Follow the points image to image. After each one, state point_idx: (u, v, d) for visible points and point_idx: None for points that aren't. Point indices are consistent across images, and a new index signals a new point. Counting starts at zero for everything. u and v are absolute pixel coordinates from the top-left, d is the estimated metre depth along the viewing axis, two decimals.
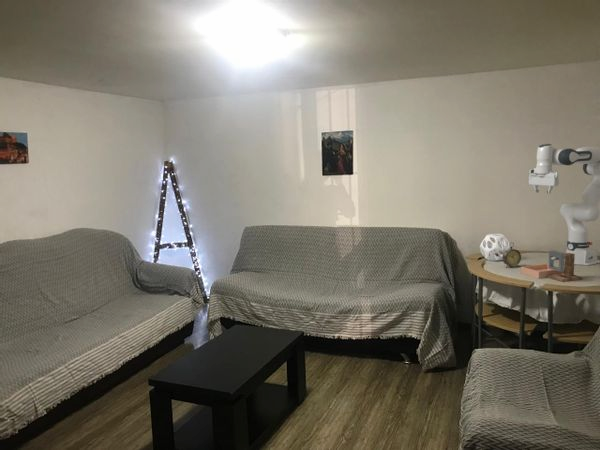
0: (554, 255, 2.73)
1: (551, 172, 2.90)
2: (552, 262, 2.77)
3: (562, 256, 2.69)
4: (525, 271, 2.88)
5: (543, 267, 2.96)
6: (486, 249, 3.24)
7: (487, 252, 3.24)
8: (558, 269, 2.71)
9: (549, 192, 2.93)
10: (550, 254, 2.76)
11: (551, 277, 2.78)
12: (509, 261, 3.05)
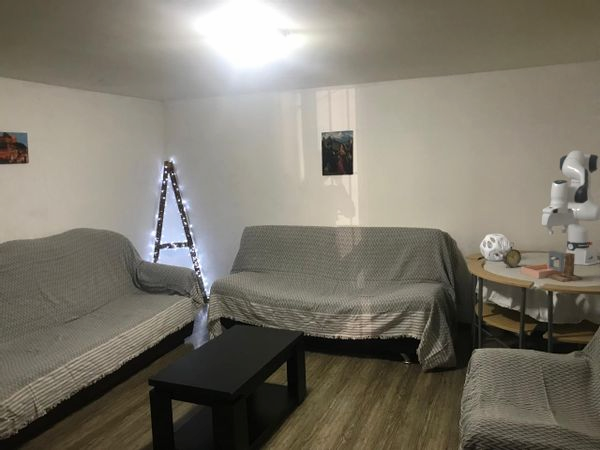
0: (554, 255, 2.73)
1: (567, 210, 2.71)
2: (552, 262, 2.77)
3: (562, 256, 2.69)
4: (525, 271, 2.88)
5: (543, 267, 2.96)
6: (486, 249, 3.24)
7: (487, 252, 3.24)
8: (558, 269, 2.71)
9: (565, 231, 2.73)
10: (550, 254, 2.76)
11: (551, 277, 2.78)
12: (509, 261, 3.05)
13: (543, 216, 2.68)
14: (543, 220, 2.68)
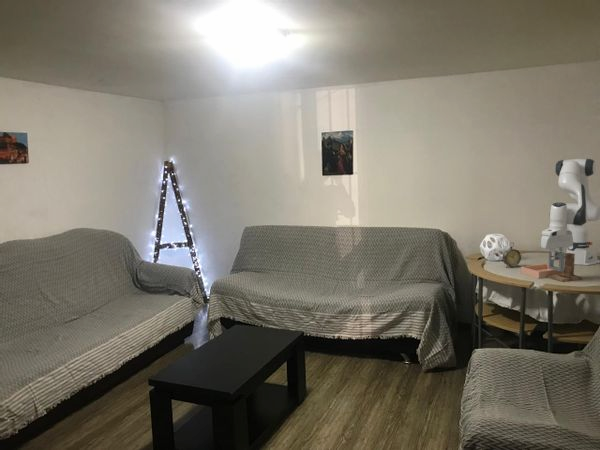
0: None
1: (566, 232, 2.73)
2: (552, 262, 2.77)
3: (562, 256, 2.69)
4: (525, 271, 2.88)
5: (543, 267, 2.96)
6: (486, 249, 3.24)
7: (487, 252, 3.24)
8: (558, 269, 2.71)
9: None
10: (550, 254, 2.76)
11: (551, 277, 2.78)
12: (509, 261, 3.05)
13: (542, 238, 2.70)
14: (542, 242, 2.70)
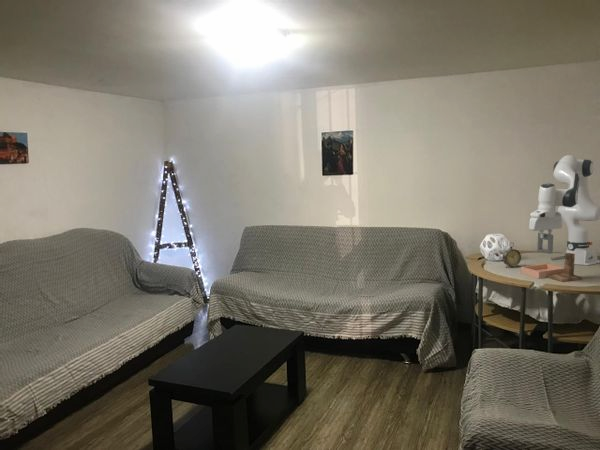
0: None
1: (555, 214, 2.69)
2: (541, 245, 2.73)
3: (550, 238, 2.65)
4: (525, 271, 2.88)
5: (543, 267, 2.96)
6: (486, 249, 3.24)
7: (487, 252, 3.24)
8: (547, 251, 2.67)
9: None
10: (539, 236, 2.72)
11: (551, 277, 2.78)
12: (509, 261, 3.05)
13: (530, 220, 2.66)
14: (530, 224, 2.65)
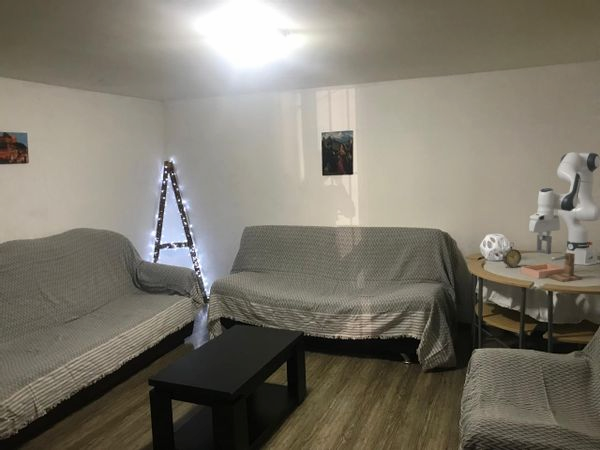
0: (542, 239, 2.85)
1: (554, 217, 2.85)
2: (540, 245, 2.89)
3: (549, 239, 2.81)
4: (525, 271, 2.88)
5: (543, 267, 2.96)
6: (486, 249, 3.24)
7: (487, 252, 3.24)
8: (545, 252, 2.83)
9: None
10: (538, 238, 2.88)
11: (551, 277, 2.78)
12: (509, 261, 3.05)
13: (530, 222, 2.82)
14: (530, 226, 2.82)
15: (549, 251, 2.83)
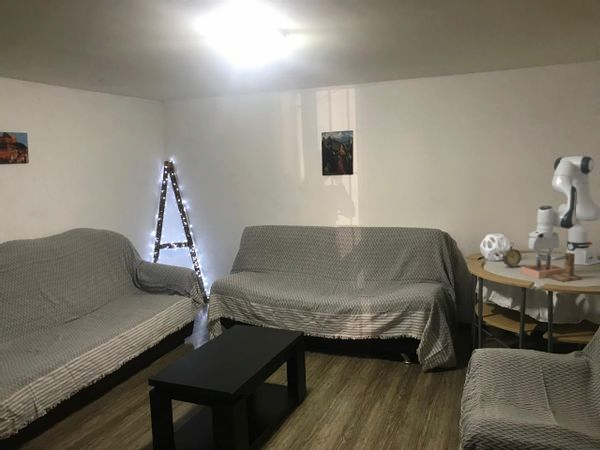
0: (541, 258, 2.87)
1: (553, 234, 2.87)
2: (539, 265, 2.91)
3: (548, 259, 2.83)
4: (525, 271, 2.88)
5: (543, 267, 2.96)
6: (486, 249, 3.24)
7: (487, 252, 3.24)
8: None
9: (550, 254, 2.88)
10: (537, 257, 2.90)
11: (551, 277, 2.78)
12: (509, 261, 3.05)
13: (530, 240, 2.84)
14: (530, 244, 2.83)
15: None
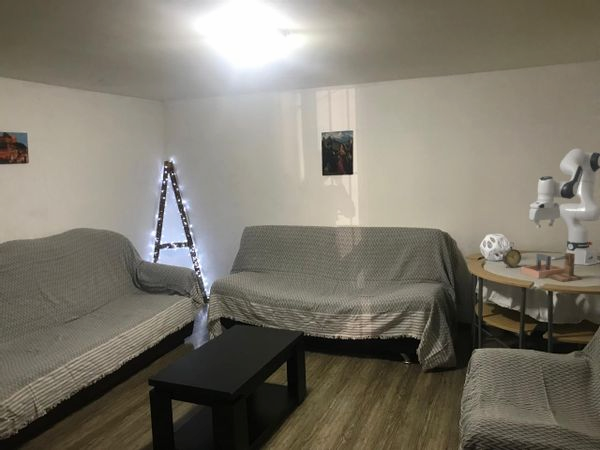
0: (541, 258, 2.87)
1: (554, 204, 2.86)
2: (539, 265, 2.91)
3: (548, 259, 2.83)
4: (525, 271, 2.88)
5: (543, 267, 2.96)
6: (486, 249, 3.24)
7: (487, 252, 3.24)
8: None
9: None
10: (537, 257, 2.90)
11: (551, 277, 2.78)
12: (509, 261, 3.05)
13: (530, 211, 2.83)
14: (530, 215, 2.82)
15: None
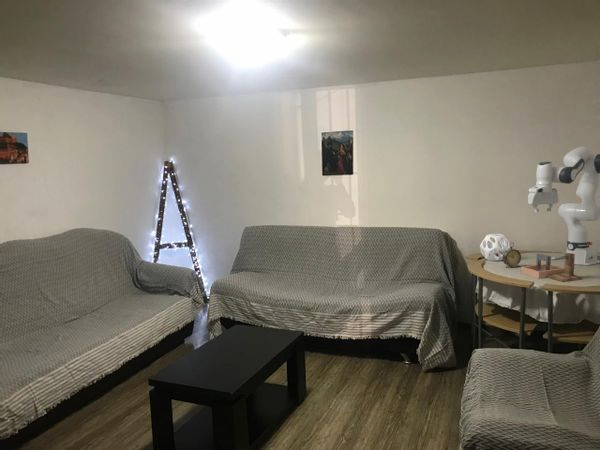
0: (541, 258, 2.87)
1: (552, 190, 2.90)
2: (539, 265, 2.91)
3: (548, 259, 2.83)
4: (525, 271, 2.88)
5: (543, 267, 2.96)
6: (486, 249, 3.24)
7: (487, 252, 3.24)
8: None
9: None
10: (537, 257, 2.90)
11: (551, 277, 2.78)
12: (509, 261, 3.05)
13: (529, 195, 2.87)
14: (529, 199, 2.87)
15: None
